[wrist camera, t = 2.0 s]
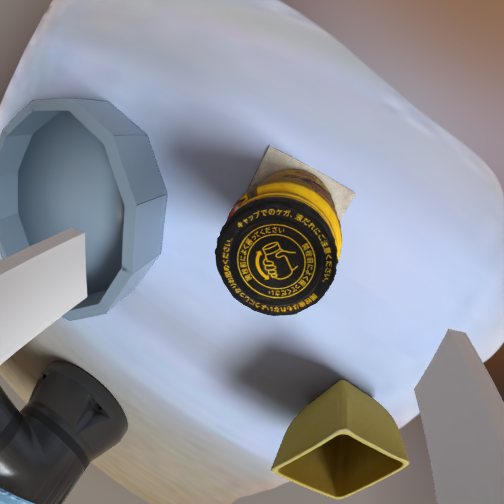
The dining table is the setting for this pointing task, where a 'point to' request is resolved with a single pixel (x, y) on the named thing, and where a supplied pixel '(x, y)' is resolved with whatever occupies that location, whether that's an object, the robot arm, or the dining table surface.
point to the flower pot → (341, 444)
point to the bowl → (83, 192)
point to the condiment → (283, 237)
